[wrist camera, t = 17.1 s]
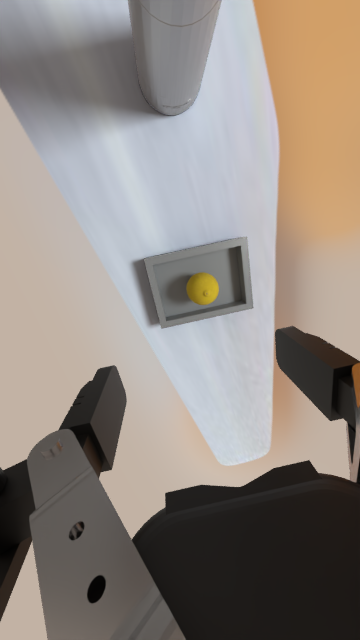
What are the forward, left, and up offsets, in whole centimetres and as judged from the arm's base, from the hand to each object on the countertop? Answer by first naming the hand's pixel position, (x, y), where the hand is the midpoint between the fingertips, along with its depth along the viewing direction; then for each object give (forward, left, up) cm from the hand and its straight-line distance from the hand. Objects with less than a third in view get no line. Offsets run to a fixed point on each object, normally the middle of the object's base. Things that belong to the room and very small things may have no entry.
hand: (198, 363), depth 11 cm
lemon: (+3, +5, -32) cm, 32 cm away
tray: (+3, +5, -32) cm, 33 cm away
